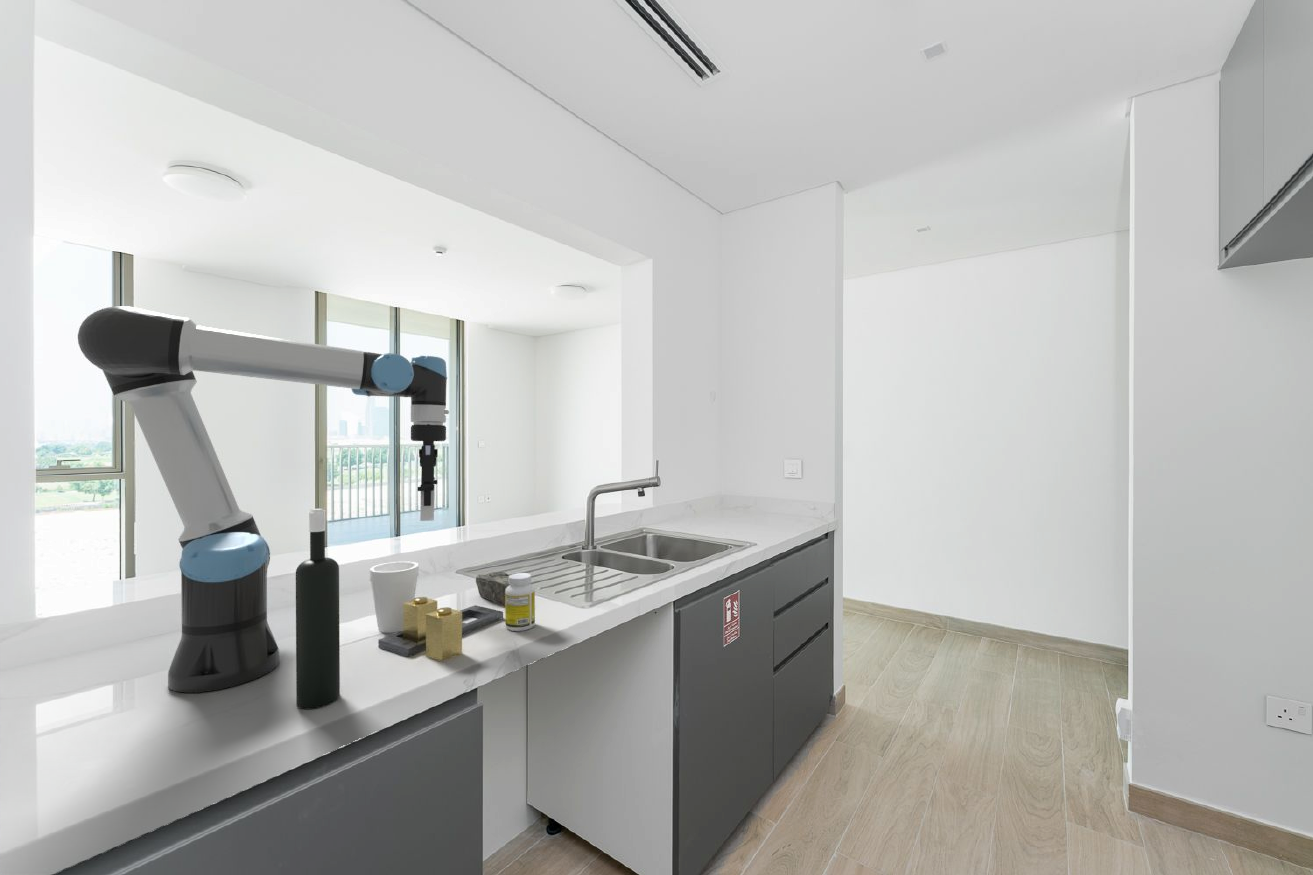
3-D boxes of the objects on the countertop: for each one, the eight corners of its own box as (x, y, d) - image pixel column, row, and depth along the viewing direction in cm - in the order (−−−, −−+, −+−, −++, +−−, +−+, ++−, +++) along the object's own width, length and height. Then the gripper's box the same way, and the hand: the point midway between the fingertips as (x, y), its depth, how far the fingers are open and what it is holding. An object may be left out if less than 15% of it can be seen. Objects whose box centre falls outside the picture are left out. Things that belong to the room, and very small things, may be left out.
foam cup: (364, 626, 117) (363, 566, 117) (408, 616, 123) (408, 559, 123) (379, 638, 110) (379, 574, 110) (425, 627, 117) (425, 566, 117)
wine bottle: (309, 691, 88) (308, 506, 87) (346, 690, 88) (345, 506, 88) (288, 710, 82) (286, 512, 82) (327, 708, 83) (326, 511, 82)
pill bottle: (520, 619, 122) (520, 570, 121) (540, 624, 118) (540, 574, 118) (498, 628, 116) (498, 576, 116) (520, 634, 113) (520, 581, 113)
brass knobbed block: (442, 661, 99) (442, 615, 99) (426, 656, 102) (425, 611, 101) (462, 653, 103) (462, 608, 103) (446, 648, 106) (445, 604, 105)
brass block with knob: (417, 647, 106) (417, 603, 106) (403, 643, 108) (402, 600, 108) (437, 639, 110) (437, 597, 110) (422, 635, 112) (422, 594, 112)
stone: (527, 612, 138) (535, 582, 134) (505, 625, 132) (513, 594, 128) (492, 582, 144) (498, 552, 140) (469, 593, 138) (475, 562, 134)
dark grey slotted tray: (408, 656, 101) (408, 648, 101) (378, 647, 106) (378, 639, 106) (503, 618, 122) (503, 611, 122) (475, 611, 127) (475, 605, 127)
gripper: (446, 423, 115) (445, 523, 115) (445, 424, 138) (444, 508, 139) (407, 423, 112) (406, 525, 113) (413, 424, 136) (412, 509, 136)
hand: (427, 516), depth 126 cm, fingers open, 13 cm apart
